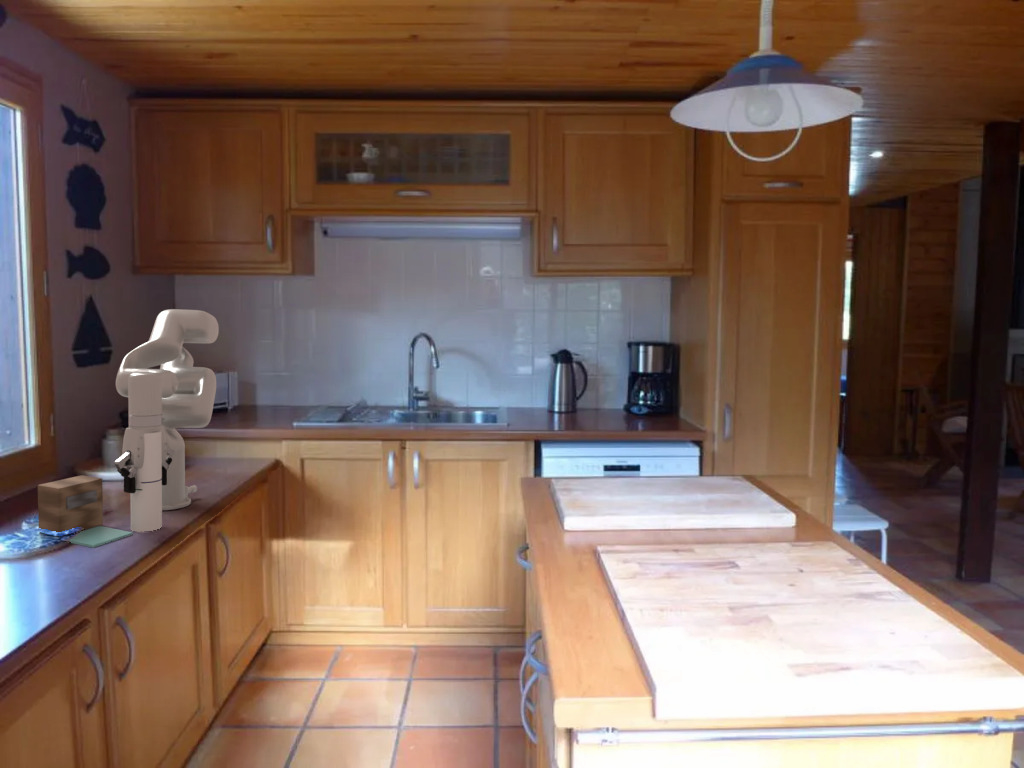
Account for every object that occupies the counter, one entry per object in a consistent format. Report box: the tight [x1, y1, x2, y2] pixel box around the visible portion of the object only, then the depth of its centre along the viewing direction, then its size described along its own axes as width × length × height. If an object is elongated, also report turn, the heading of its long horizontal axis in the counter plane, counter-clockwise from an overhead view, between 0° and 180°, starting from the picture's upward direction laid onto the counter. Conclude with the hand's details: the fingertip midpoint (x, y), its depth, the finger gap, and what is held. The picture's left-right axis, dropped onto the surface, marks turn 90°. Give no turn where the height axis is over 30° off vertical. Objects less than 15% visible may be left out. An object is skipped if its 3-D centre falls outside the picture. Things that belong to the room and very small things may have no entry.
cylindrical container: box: [129, 431, 163, 533], centre depth 186 cm, size 7×7×25 cm
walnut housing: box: [37, 474, 104, 532], centre depth 184 cm, size 12×8×12 cm, turn 159°
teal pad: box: [69, 525, 134, 549], centre depth 179 cm, size 11×11×1 cm
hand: (145, 488), depth 186 cm, fingers open, 9 cm apart
